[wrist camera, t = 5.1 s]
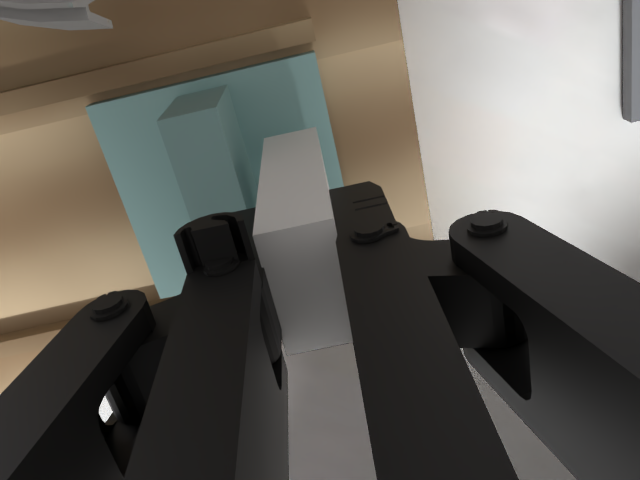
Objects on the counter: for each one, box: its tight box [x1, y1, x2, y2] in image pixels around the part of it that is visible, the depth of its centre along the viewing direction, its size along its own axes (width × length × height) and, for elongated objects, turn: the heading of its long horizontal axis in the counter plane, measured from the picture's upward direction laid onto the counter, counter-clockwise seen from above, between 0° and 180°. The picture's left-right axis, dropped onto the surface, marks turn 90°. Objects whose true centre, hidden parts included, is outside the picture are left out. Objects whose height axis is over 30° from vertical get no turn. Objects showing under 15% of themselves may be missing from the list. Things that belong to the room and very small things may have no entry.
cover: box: [85, 50, 344, 299], centre depth 17 cm, size 7×7×4 cm
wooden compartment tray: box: [0, 0, 434, 394], centre depth 18 cm, size 24×18×4 cm
